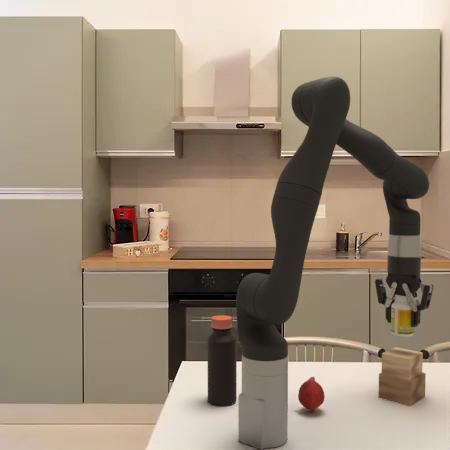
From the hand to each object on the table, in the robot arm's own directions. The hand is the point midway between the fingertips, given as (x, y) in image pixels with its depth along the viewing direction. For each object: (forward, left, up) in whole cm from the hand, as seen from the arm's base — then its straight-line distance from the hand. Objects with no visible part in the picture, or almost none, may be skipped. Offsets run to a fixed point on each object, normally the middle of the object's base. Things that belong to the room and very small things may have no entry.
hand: (402, 324), depth 139 cm
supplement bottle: (0, 0, -3) cm, 3 cm away
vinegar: (-31, +30, -18) cm, 47 cm away
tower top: (0, 0, -12) cm, 12 cm away
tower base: (0, 0, -18) cm, 18 cm away
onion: (-22, +11, -18) cm, 30 cm away
